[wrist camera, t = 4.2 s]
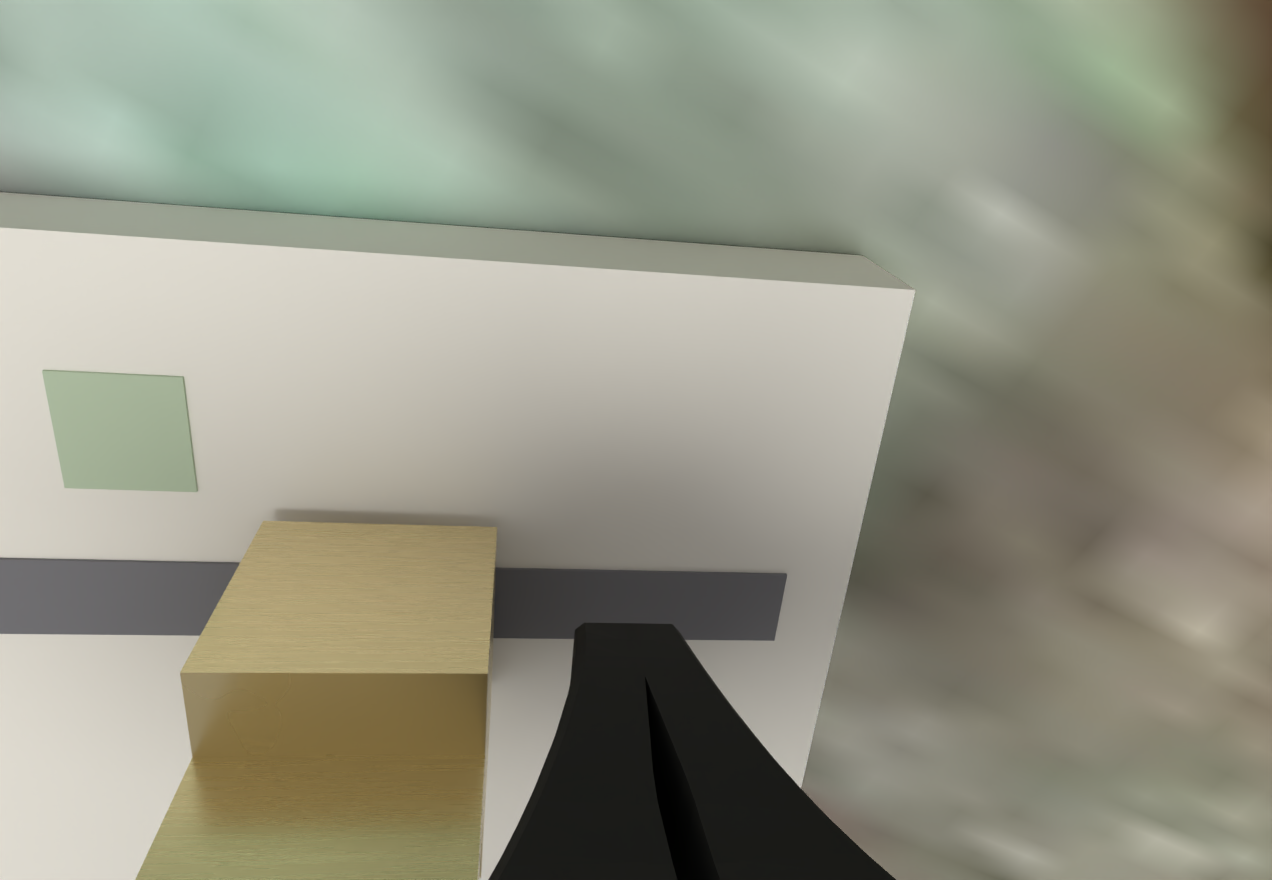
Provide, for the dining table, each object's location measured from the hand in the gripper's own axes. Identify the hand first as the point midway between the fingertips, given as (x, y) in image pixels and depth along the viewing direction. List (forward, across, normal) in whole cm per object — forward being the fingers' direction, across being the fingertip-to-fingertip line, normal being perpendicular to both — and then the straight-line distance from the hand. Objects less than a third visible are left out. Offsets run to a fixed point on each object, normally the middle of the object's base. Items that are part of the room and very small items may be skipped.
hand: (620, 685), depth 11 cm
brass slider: (+1, +3, 0) cm, 3 cm away
